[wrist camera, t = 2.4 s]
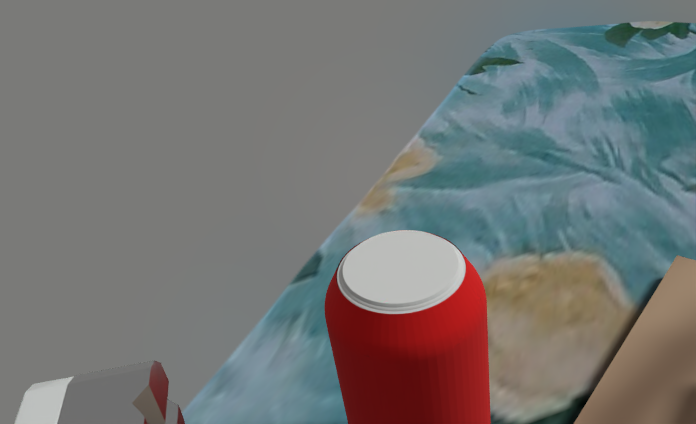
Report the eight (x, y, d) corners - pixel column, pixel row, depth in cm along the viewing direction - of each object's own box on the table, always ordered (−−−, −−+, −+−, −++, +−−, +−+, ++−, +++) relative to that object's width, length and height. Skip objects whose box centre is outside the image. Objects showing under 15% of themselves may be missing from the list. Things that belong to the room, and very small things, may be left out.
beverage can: (480, 407, 32) (471, 209, 25) (503, 526, 27) (499, 314, 20) (360, 416, 32) (321, 225, 26) (359, 534, 27) (311, 331, 21)
